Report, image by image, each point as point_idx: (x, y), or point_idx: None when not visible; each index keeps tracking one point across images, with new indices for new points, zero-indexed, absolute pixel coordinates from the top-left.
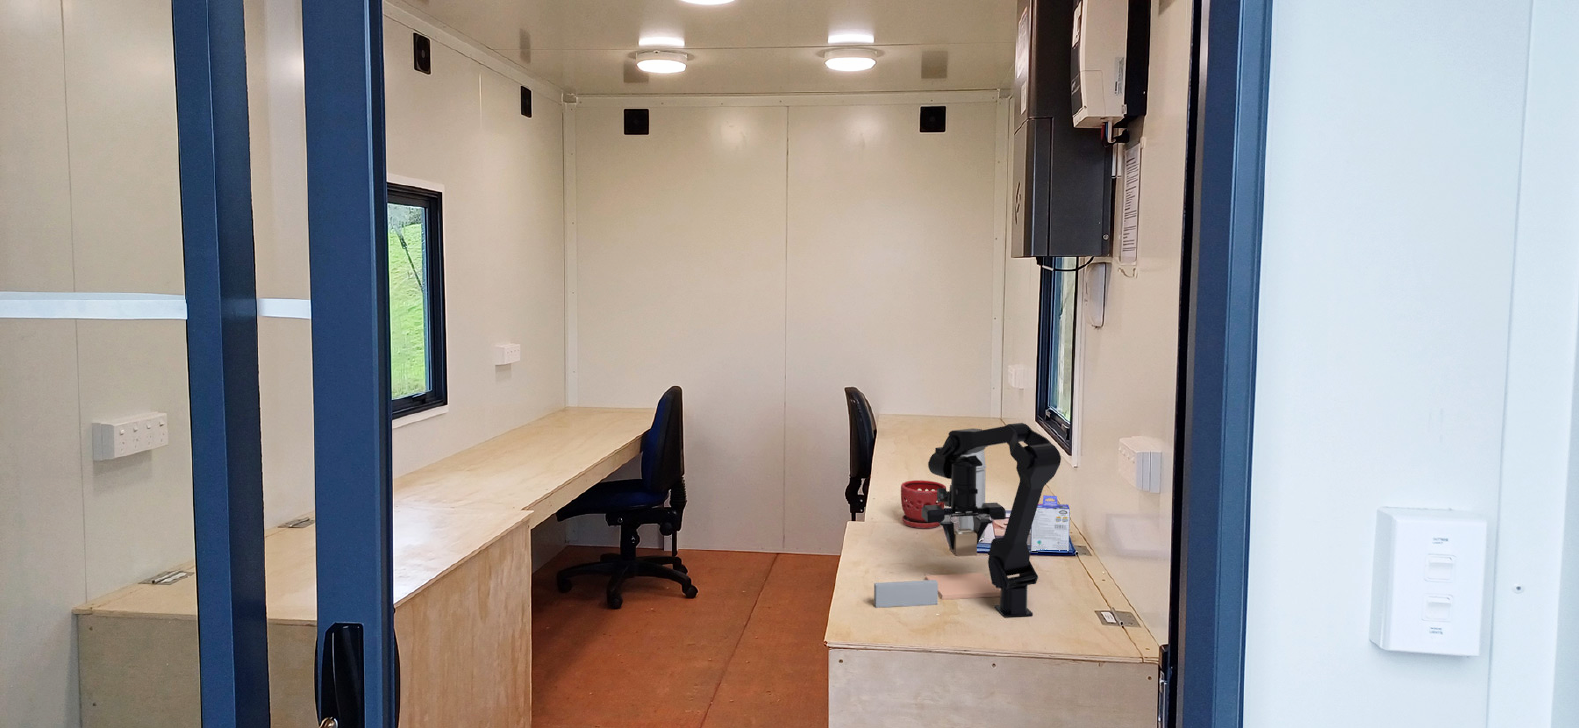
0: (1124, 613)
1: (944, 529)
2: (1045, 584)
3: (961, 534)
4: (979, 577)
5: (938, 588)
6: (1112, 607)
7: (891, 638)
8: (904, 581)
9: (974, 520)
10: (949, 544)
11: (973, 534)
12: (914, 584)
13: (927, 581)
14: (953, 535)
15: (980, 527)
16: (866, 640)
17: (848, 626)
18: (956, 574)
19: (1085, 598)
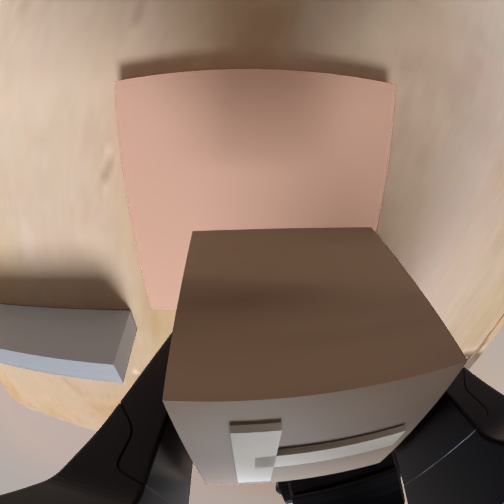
0: (475, 360)
1: (92, 453)
2: (501, 214)
3: (258, 479)
4: (364, 140)
5: (144, 250)
6: (485, 342)
7: (71, 415)
8: (28, 354)
9: (496, 474)
10: (170, 340)
11: (352, 469)
12: (58, 373)
13: (90, 370)
14: (186, 472)
15: (413, 498)
16: (42, 409)
17: (3, 372)
18: (275, 75)
19: (491, 306)
